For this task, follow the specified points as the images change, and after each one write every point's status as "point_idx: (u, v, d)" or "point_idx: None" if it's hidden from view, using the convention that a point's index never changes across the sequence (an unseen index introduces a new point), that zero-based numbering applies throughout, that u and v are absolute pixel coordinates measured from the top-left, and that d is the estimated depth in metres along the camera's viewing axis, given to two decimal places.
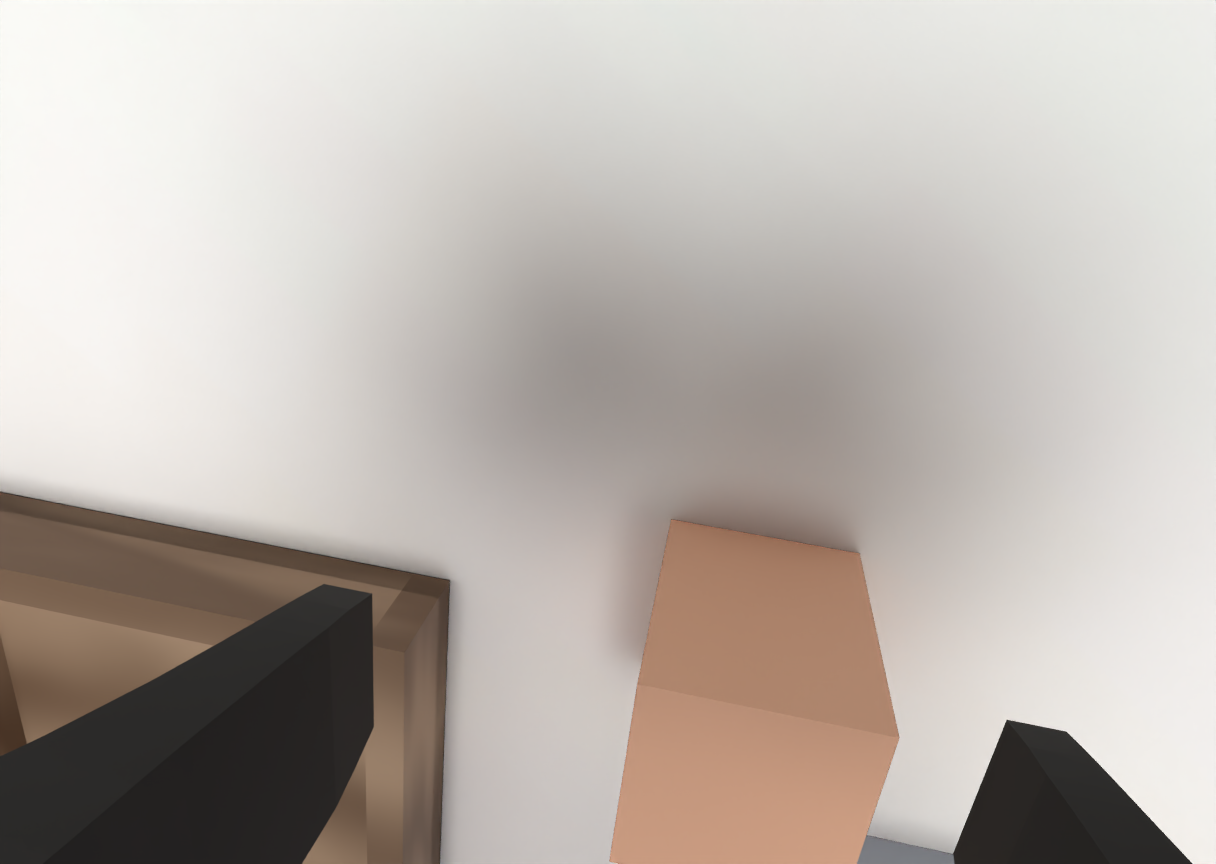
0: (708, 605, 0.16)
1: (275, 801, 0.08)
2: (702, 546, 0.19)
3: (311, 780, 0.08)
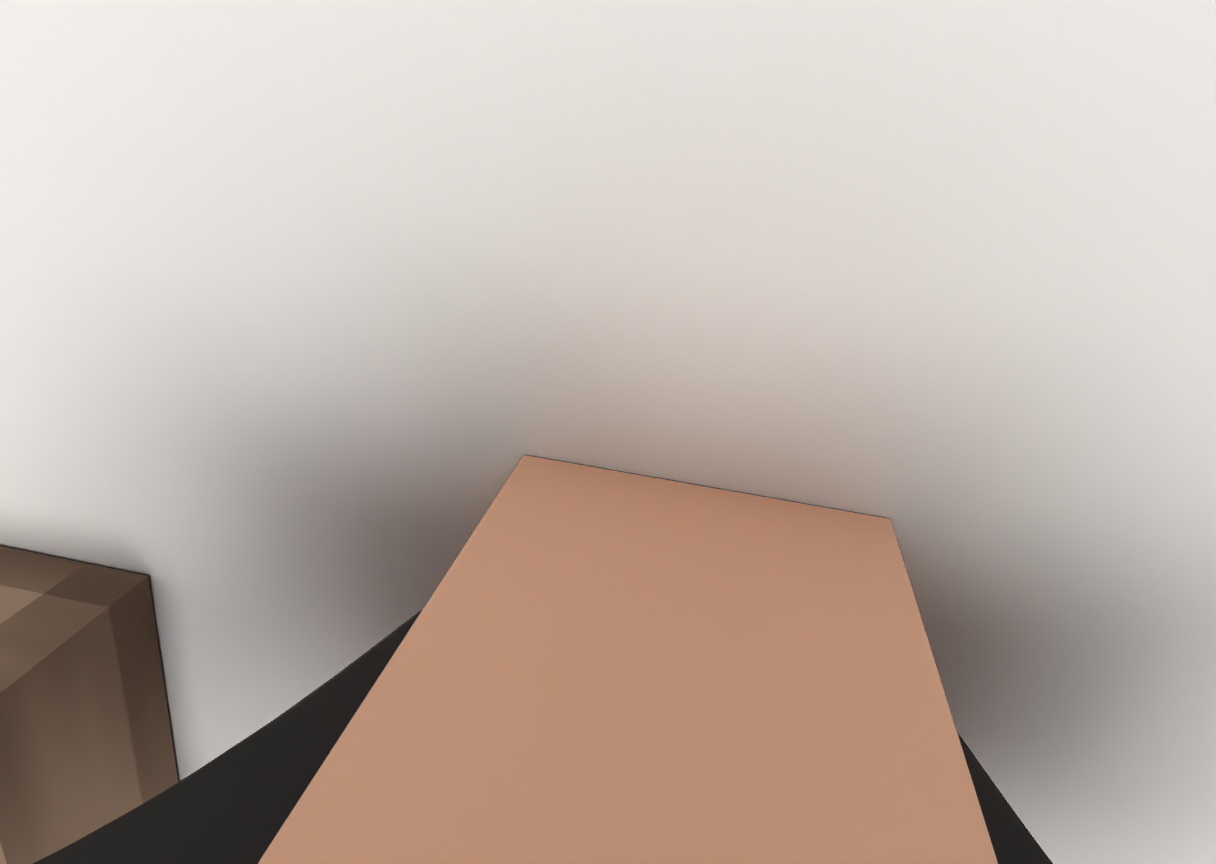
0: (546, 631, 0.07)
1: None
2: (571, 505, 0.09)
3: None
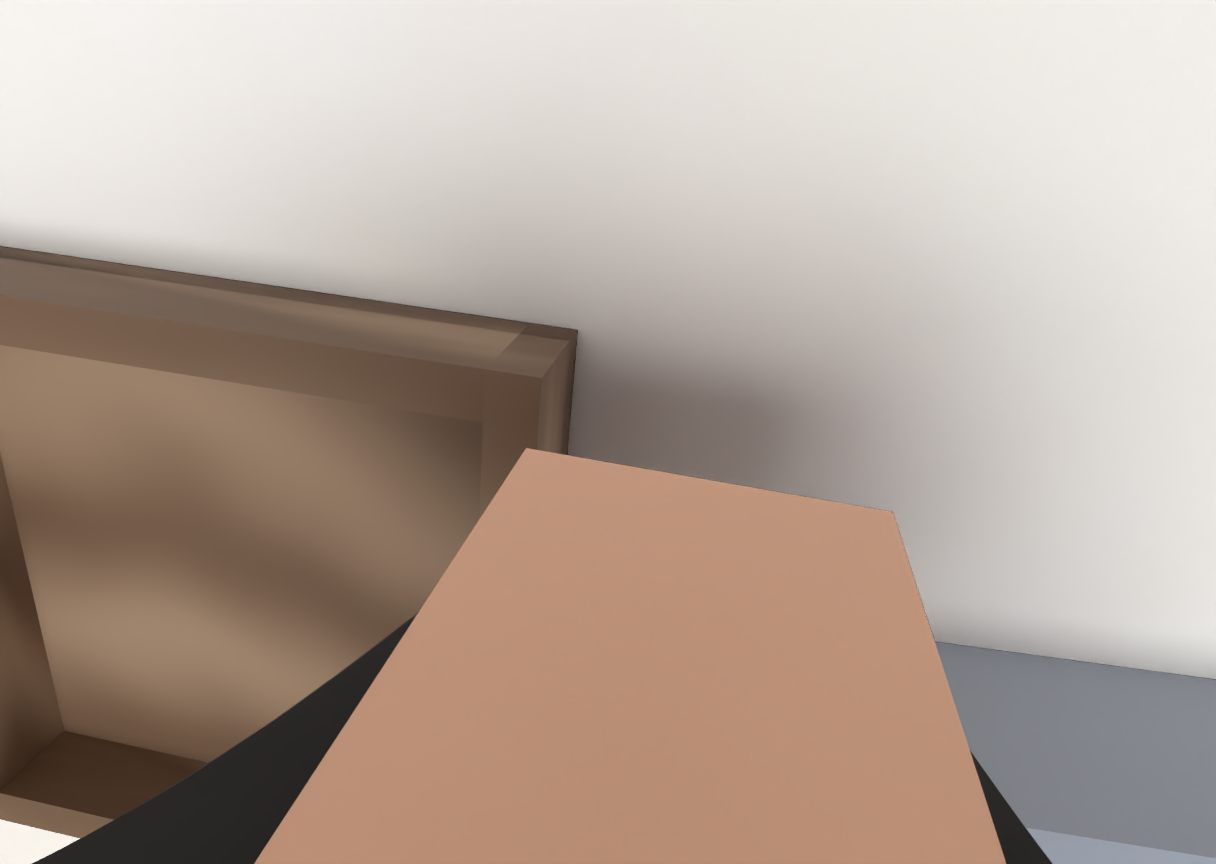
0: (550, 620, 0.07)
1: None
2: (573, 496, 0.09)
3: None
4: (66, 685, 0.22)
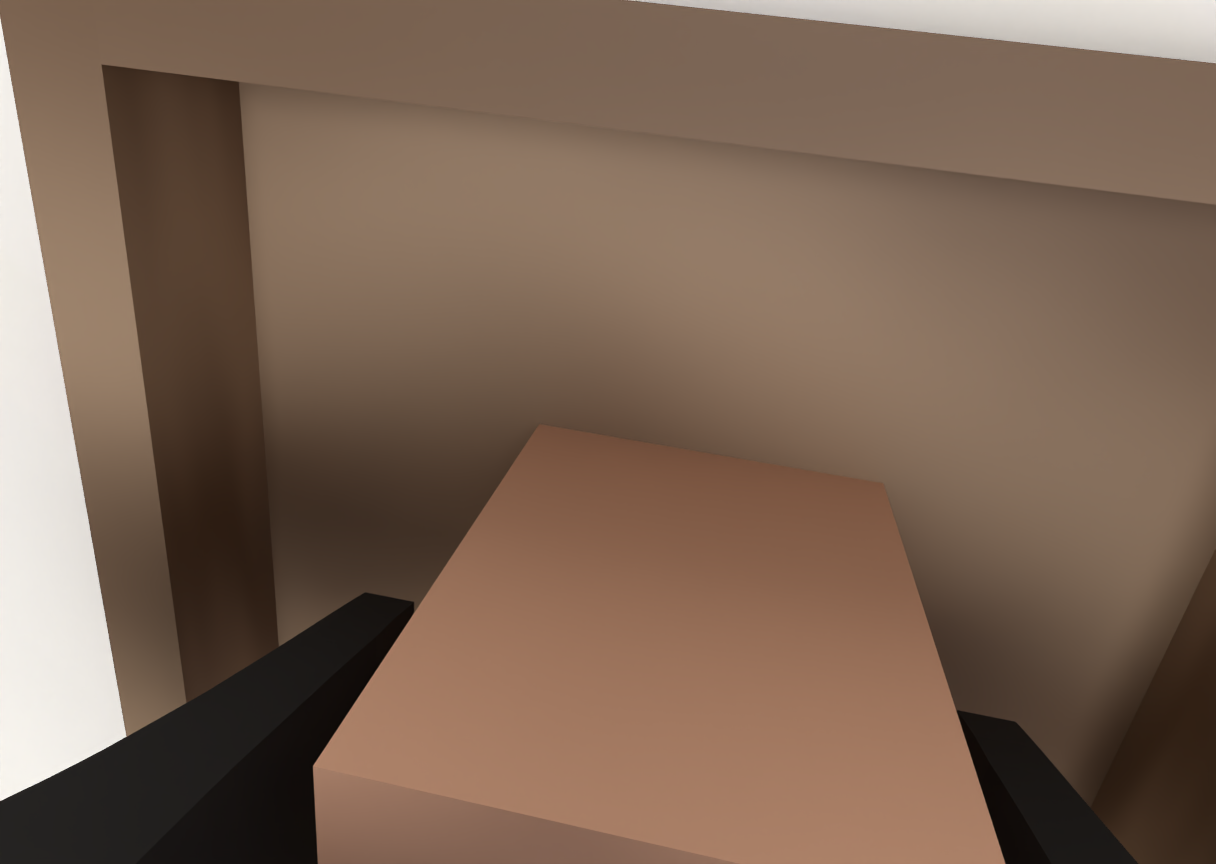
0: (566, 572, 0.08)
1: None
2: (584, 466, 0.10)
3: None
4: None
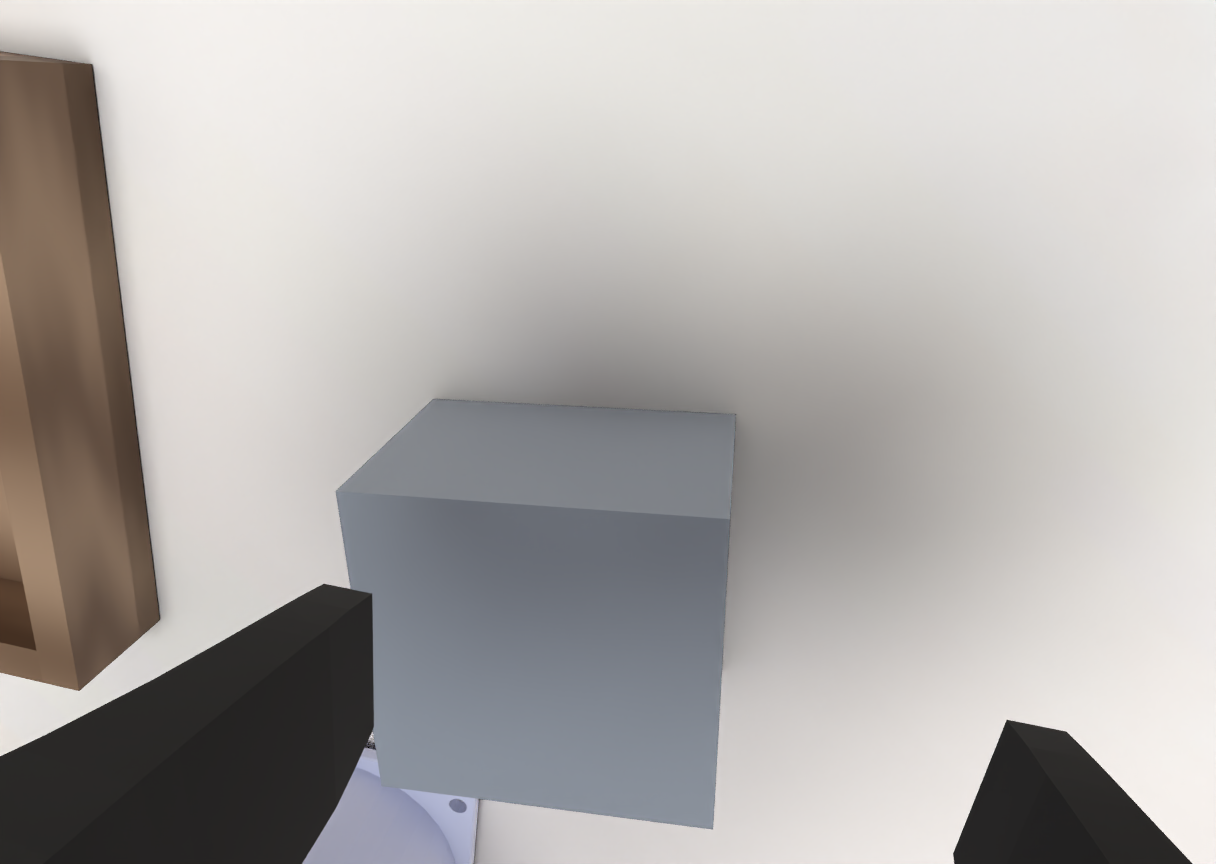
0: None
1: (275, 801, 0.08)
2: None
3: (311, 779, 0.08)
4: None
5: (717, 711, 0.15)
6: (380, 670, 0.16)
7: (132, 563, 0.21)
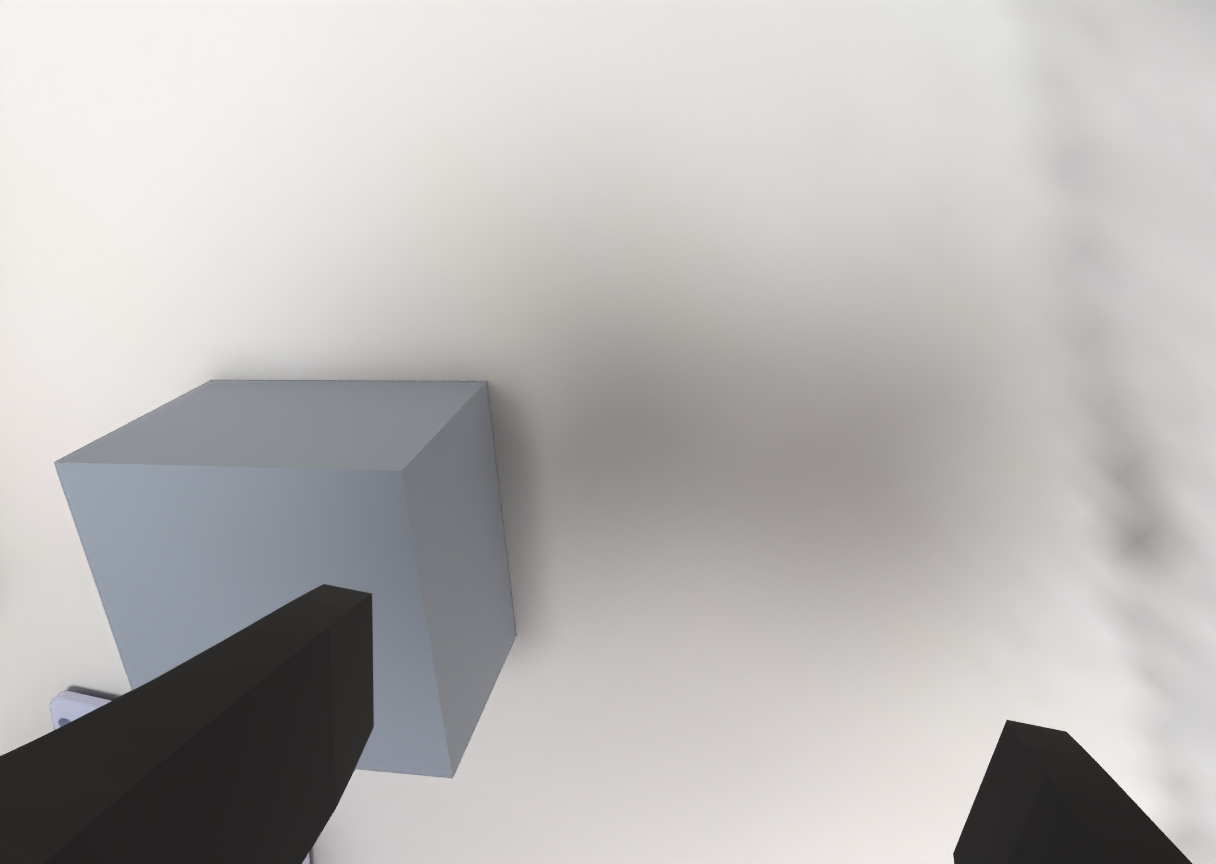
0: None
1: (275, 801, 0.08)
2: None
3: (311, 779, 0.08)
4: None
5: (431, 660, 0.16)
6: (128, 635, 0.17)
7: None
